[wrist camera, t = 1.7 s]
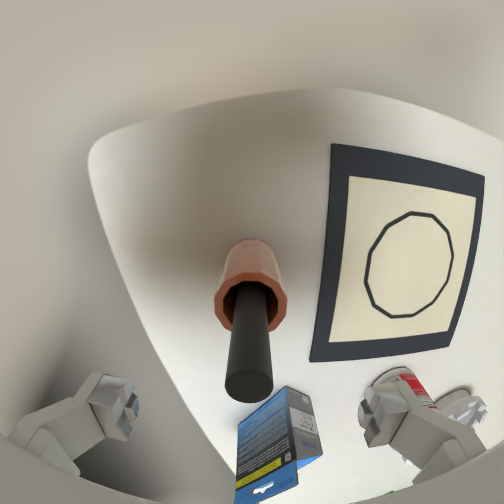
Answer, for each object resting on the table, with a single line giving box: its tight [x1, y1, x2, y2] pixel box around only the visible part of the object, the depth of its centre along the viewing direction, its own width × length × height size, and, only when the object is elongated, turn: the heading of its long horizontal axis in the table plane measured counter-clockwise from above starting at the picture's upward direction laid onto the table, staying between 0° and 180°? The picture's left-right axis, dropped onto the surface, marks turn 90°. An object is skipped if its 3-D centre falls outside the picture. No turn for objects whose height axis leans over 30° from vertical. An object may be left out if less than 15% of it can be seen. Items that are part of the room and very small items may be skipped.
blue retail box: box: [234, 387, 323, 504], centre depth 22 cm, size 9×4×12 cm, turn 144°
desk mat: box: [309, 143, 485, 363], centre depth 23 cm, size 20×18×1 cm
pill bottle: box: [373, 368, 441, 466], centre depth 22 cm, size 6×6×11 cm
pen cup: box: [214, 239, 287, 332], centre depth 19 cm, size 4×4×8 cm
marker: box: [225, 281, 273, 403], centre depth 16 cm, size 2×2×14 cm
